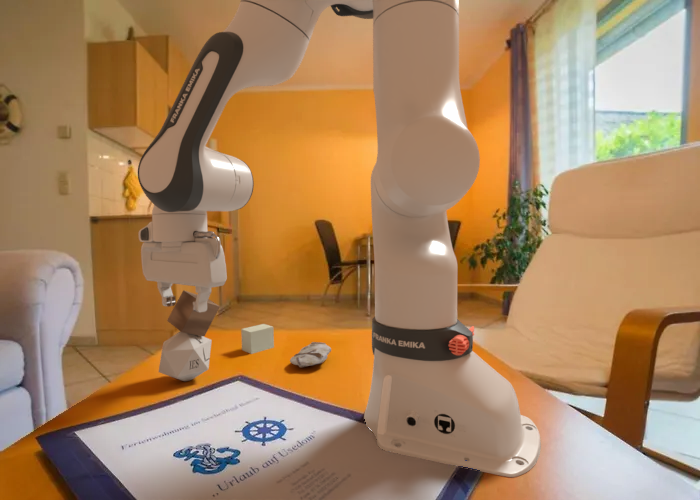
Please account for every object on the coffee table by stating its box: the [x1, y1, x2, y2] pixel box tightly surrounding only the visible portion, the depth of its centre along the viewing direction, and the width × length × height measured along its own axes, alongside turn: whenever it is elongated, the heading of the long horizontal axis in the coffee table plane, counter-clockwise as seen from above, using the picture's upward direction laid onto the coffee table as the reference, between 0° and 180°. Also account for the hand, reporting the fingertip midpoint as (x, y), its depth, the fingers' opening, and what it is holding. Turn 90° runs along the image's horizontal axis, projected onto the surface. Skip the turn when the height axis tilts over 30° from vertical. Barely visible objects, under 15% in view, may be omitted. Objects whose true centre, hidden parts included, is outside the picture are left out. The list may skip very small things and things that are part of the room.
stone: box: [289, 341, 332, 368], centre depth 75 cm, size 10×7×3 cm
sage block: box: [240, 323, 275, 355], centre depth 84 cm, size 4×6×5 cm, turn 137°
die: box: [158, 331, 212, 383], centre depth 66 cm, size 8×9×10 cm
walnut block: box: [166, 289, 221, 337], centre depth 66 cm, size 5×5×6 cm
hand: (184, 308), depth 65 cm, fingers open, 8 cm apart
